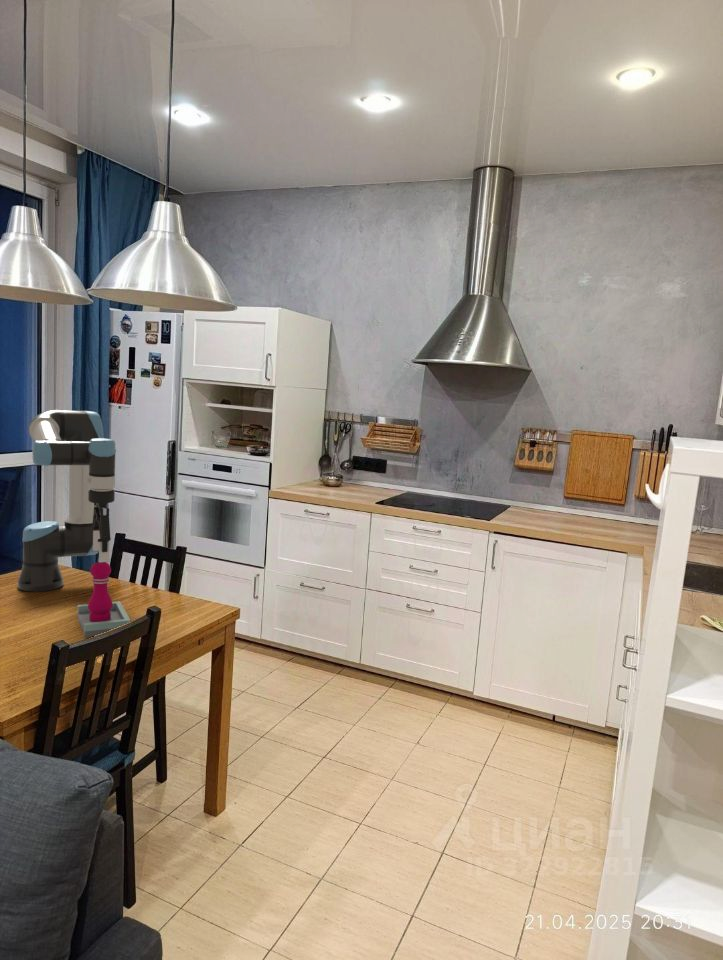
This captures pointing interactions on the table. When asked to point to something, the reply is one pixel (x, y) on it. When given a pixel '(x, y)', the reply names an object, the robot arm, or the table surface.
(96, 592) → the pepper mill
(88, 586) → the table surface
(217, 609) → the table surface
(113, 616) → the tray
